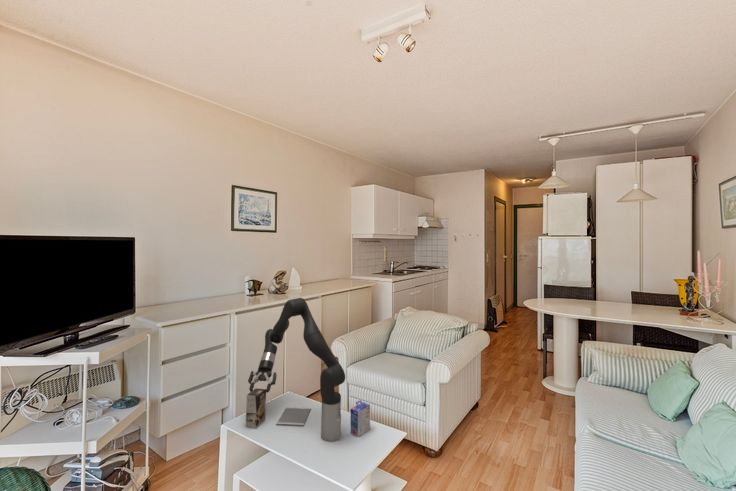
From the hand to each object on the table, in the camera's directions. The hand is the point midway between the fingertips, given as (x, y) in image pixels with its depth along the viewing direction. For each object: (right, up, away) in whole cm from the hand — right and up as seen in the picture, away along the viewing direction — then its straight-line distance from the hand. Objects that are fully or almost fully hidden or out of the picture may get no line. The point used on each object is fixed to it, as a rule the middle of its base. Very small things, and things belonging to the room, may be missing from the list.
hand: (259, 391), depth 176 cm
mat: (+18, -15, +4) cm, 24 cm away
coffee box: (-1, -15, -3) cm, 15 cm away
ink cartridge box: (+53, -16, -8) cm, 56 cm away
